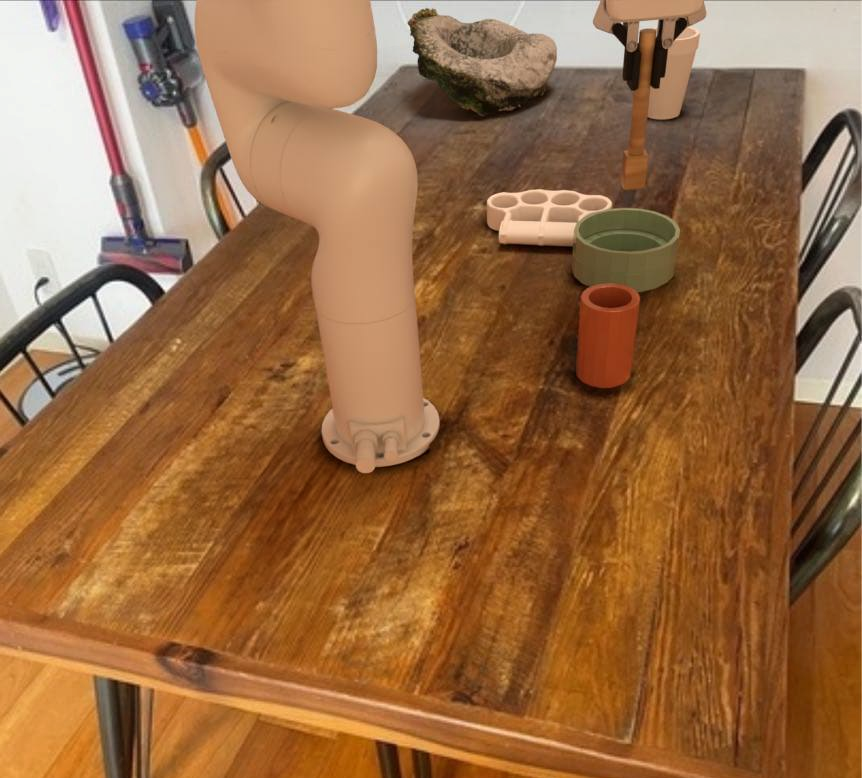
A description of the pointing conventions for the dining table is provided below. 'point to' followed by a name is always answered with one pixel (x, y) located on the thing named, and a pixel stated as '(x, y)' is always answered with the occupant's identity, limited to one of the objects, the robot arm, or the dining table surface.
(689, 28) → the foam cup
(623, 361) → the crock
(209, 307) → the dining table surface
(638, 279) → the bowl
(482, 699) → the dining table surface
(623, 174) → the paddle
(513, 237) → the white brass knuckles
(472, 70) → the stone basin
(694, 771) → the dining table surface
